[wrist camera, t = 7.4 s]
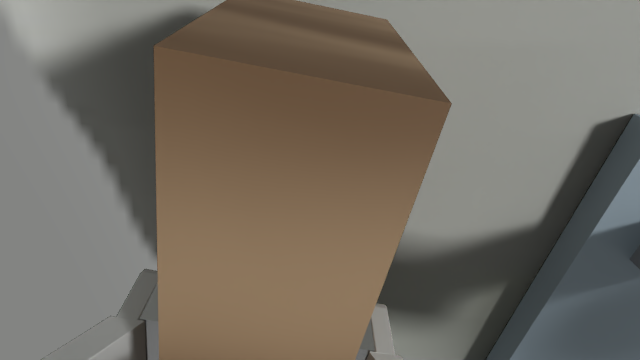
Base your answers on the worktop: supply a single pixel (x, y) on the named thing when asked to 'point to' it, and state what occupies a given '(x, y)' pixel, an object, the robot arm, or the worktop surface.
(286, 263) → the rail
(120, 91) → the worktop surface
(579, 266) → the stand
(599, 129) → the worktop surface
